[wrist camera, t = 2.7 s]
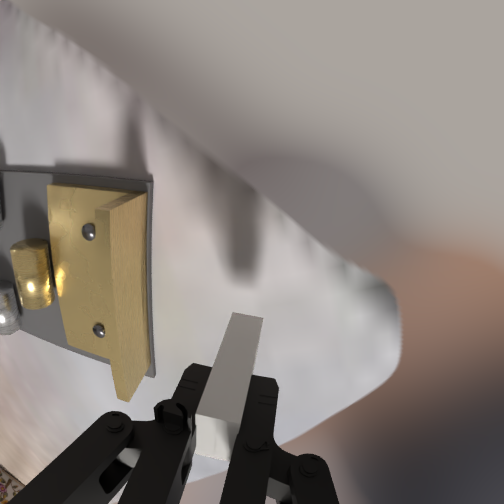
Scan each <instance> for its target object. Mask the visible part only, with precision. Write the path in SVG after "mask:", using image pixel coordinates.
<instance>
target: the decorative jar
mask: <svg viewBox="0 0 504 504" xmlns="http://www.w3.org/2000/svg"><path fill="white" fill-rule="evenodd" d="M24 487H25V485H23V484H22V483H21V482H19V481H18V480H16V479H15V478H14V477H12V476H11V475H10V474H8V473H7V472H6V471H4V470H3V469H2V468H1V467H0V504H6V503H7V502H8V501H10V500H11V499H12V498H13V497H14V496H15V495H16V494H17V493H18V492H20V491H21V490H22V489H23V488H24Z"/></svg>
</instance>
